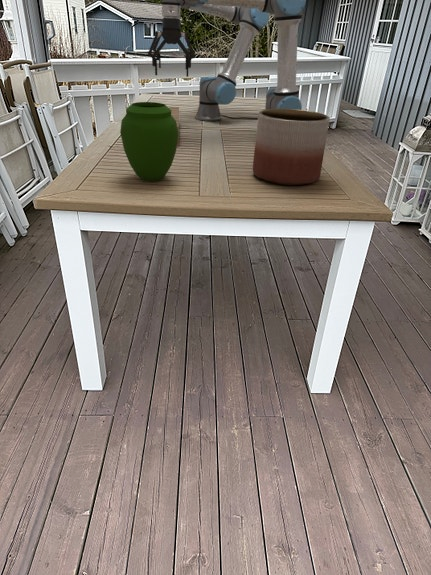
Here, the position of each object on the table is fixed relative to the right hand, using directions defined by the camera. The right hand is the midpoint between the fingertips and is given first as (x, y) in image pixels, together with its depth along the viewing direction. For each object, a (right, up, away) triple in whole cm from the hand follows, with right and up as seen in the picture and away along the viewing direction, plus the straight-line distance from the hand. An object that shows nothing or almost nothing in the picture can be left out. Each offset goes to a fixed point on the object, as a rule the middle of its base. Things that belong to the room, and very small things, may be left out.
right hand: (171, 75), depth 180 cm
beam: (-2, -14, +31) cm, 34 cm away
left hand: (-3, +20, +32) cm, 38 cm away
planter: (+46, -51, -24) cm, 73 cm away
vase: (-4, -54, -33) cm, 64 cm away
